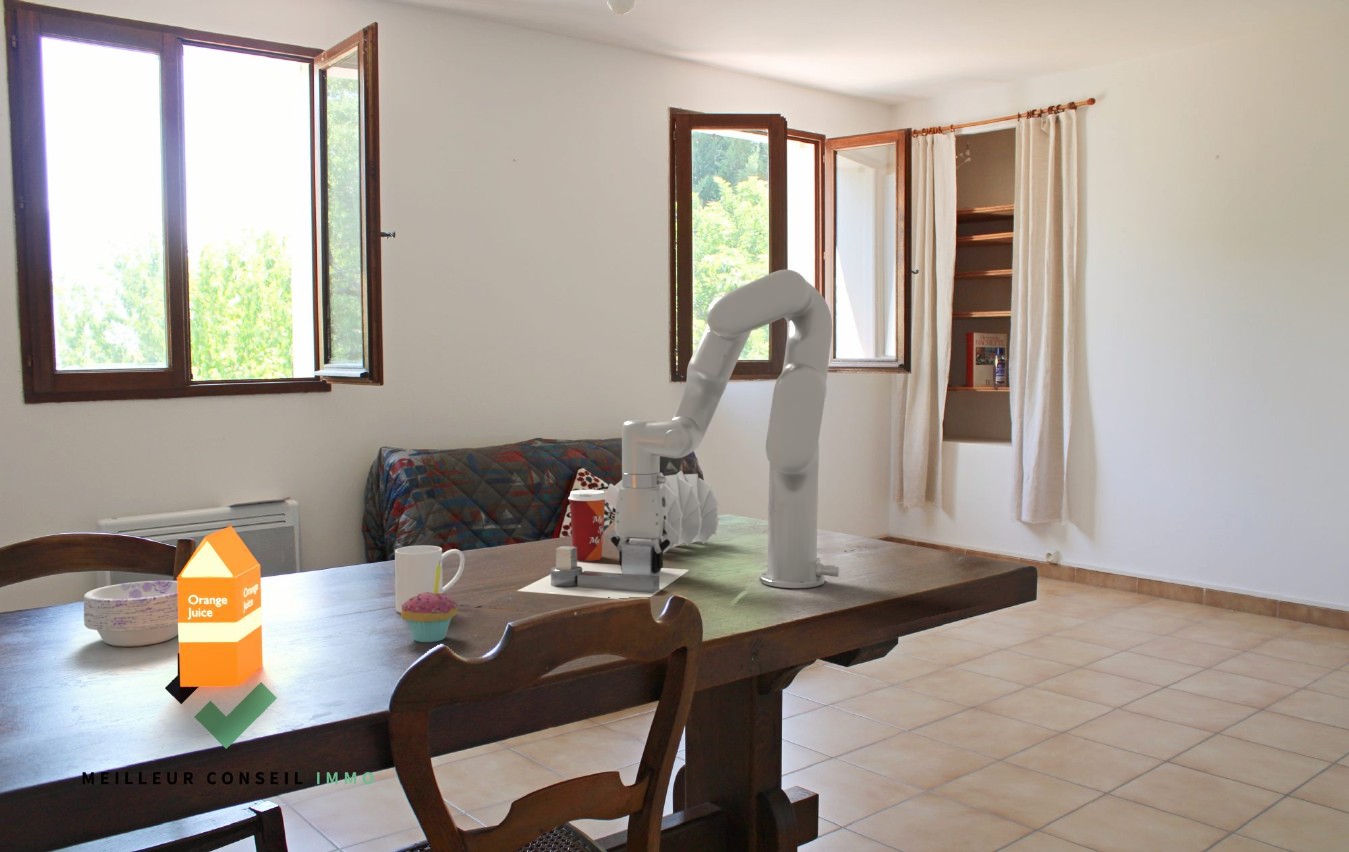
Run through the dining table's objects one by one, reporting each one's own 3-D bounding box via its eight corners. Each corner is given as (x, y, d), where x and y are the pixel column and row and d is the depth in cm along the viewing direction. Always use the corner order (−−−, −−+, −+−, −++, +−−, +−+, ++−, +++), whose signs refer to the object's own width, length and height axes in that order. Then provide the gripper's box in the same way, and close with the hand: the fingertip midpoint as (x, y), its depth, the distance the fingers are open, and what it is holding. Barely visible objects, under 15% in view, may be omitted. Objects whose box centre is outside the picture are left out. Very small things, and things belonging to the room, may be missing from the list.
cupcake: (435, 628, 161) (434, 554, 160) (469, 637, 156) (468, 561, 155) (390, 639, 154) (388, 562, 154) (423, 649, 149) (422, 570, 148)
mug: (404, 617, 168) (403, 555, 167) (389, 607, 174) (388, 548, 173) (473, 607, 174) (472, 548, 174) (455, 598, 181) (455, 541, 180)
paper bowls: (180, 621, 165) (179, 573, 164) (209, 640, 154) (208, 589, 153) (74, 637, 155) (73, 587, 154) (97, 659, 144) (95, 605, 143)
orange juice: (263, 666, 141) (260, 525, 140) (238, 686, 132) (234, 536, 131) (207, 666, 141) (203, 525, 139) (178, 686, 132) (174, 536, 130)
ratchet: (545, 586, 188) (545, 549, 188) (558, 579, 194) (558, 544, 194) (651, 594, 182) (651, 556, 182) (661, 587, 188) (661, 550, 187)
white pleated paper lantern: (713, 561, 236) (639, 572, 217) (664, 521, 246) (590, 529, 228) (742, 494, 230) (669, 500, 211) (691, 457, 241) (617, 459, 222)
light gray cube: (659, 570, 203) (659, 541, 202) (650, 576, 197) (650, 546, 197) (632, 568, 204) (632, 539, 204) (621, 574, 199) (621, 545, 198)
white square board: (689, 572, 204) (689, 569, 204) (644, 604, 177) (644, 601, 177) (576, 564, 211) (576, 561, 211) (516, 594, 185) (516, 590, 185)
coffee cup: (604, 564, 212) (604, 494, 211) (566, 564, 212) (565, 494, 211) (608, 556, 220) (608, 489, 219) (571, 556, 220) (570, 488, 219)
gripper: (687, 481, 201) (687, 569, 202) (607, 478, 206) (607, 564, 207) (676, 485, 193) (676, 577, 195) (593, 482, 199) (594, 571, 200)
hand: (641, 569), depth 201 cm, fingers closed on light gray cube, 6 cm apart
